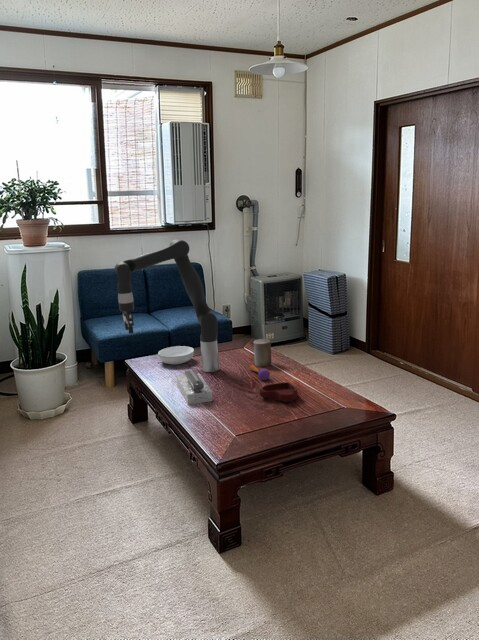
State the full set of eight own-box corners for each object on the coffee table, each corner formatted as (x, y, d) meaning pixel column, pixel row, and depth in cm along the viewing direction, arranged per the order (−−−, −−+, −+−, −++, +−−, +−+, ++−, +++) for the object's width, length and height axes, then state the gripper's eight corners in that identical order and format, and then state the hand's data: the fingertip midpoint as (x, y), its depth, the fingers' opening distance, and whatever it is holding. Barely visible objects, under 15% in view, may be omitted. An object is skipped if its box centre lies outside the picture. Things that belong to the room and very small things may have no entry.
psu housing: (199, 382, 293) (198, 369, 291) (212, 400, 267) (211, 387, 265) (177, 385, 290) (176, 373, 288) (188, 404, 264) (187, 391, 262)
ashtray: (305, 394, 270) (305, 384, 269) (290, 406, 257) (290, 396, 256) (272, 388, 279) (272, 379, 278) (256, 400, 266) (256, 390, 265)
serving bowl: (184, 354, 342) (184, 343, 340) (200, 362, 324) (200, 351, 323) (153, 361, 331) (152, 350, 330) (168, 370, 314) (167, 358, 312)
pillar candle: (274, 362, 318) (273, 337, 315) (266, 367, 310) (265, 341, 307) (260, 360, 323) (258, 335, 320) (251, 365, 315) (250, 340, 312)
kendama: (258, 362, 308) (272, 370, 290) (256, 373, 309) (270, 381, 290) (247, 362, 306) (261, 370, 287) (246, 372, 307) (260, 381, 288)
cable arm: (194, 373, 285) (194, 367, 284) (204, 388, 264) (204, 382, 263) (185, 375, 283) (184, 369, 283) (194, 390, 262) (194, 383, 262)
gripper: (136, 302, 282) (139, 333, 286) (130, 297, 294) (133, 327, 298) (121, 304, 279) (125, 335, 283) (115, 299, 292) (119, 329, 296)
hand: (129, 331), depth 291 cm, fingers open, 8 cm apart
